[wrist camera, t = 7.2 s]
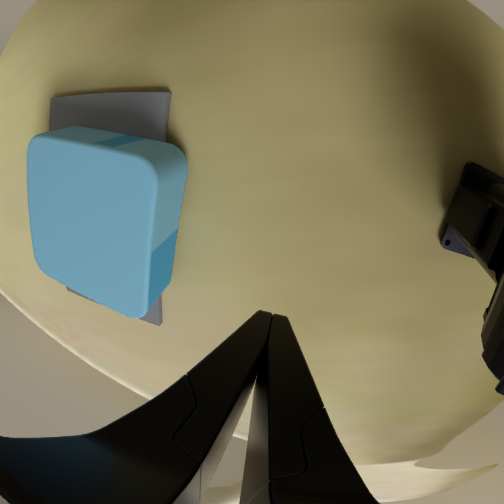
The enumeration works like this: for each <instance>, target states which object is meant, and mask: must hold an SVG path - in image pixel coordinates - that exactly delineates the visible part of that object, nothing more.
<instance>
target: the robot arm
mask: <svg viewBox="0 0 504 504" xmlns="http://www.w3.org/2000/svg"><path fill="white" fill-rule="evenodd" d="M471 167H473V170H472V172H470V168H471ZM446 220H447V223H446V226H445V228H444V231H443V233H442V236H441V238H440V244H441V246H442V247H443V248H445V249H447V250H450V251H453V252H456V253H460V254H463V255H466V256H469V257H472V258H475V259H476V260H477V261H478V262H479V263H480V265H481V266H482V267H483V268H484V269H485V271H486V272H487V273H488V274H489V276H490V277H491V278H492V279H493V280H494V282H495V283H496V284H497V286H496V288H495V291H494V294H493V296H492V299H491V301H490V304H489V306H488V308H486V310H485V312H484V315H483V318H484V324H483V328H482V333H481V338H482V344H483V348H484V351H483V353H482V357H483V359H484V361H485V363H486V365H487V367H488V369H489V370H490V371H491V372H492V374H493V375H494V376H495V377H496V378H497V379H498V380H499V381H500V382H499V383H498V385H497V386H496V388H495V390H496V391H497V392H498V393H500V394H502V395H504V178H502V177H500V176H499V175H497V174H495V173H493V172H491V171H489V170H487V169H486V168H484V167H482V166H480V165H478V164H476V163H473V162H467V163H466V165H465V167H464V171H463V174H462V178H461V181H460V185H459V187H458V188H457V190H456V193H455V196H454V199H453V202H452V205H451V208H450V211H449V214H448V216H447V219H446ZM447 239H449V240H448V242H447V243H445V241H446V240H447ZM256 376H257V377H256ZM255 380H256V382H255ZM254 383H255V387H254V395H253V403H252V411H251V420H250V428H249V435H248V444H247V451H246V459H245V466H244V474H243V481H242V488H241V496H240V503H239V504H380V503H379V502H378V501H377V500H376V499H375V498H374V497H373V496H372V494H371V493H370V492H369V490H368V488H367V487H366V485H365V483H364V482H363V480H362V478H361V477H360V475H359V473H358V471H357V470H356V468H355V466H354V465H353V463H352V461H351V460H350V458H349V456H348V454H347V453H346V451H345V449H344V447H343V445H342V443H341V442H340V440H339V438H338V436H337V434H336V432H335V430H334V427H333V425H332V423H331V421H330V418H329V416H328V413H327V411H326V408H323V407H324V404H323V401H322V399H321V397H320V394H319V392H318V389H317V387H316V384H315V382H314V380H313V377H312V375H311V372H310V370H309V368H308V365H307V363H306V360H305V358H304V355H303V353H302V351H301V348H300V346H299V343H298V341H297V339H296V336H295V334H294V331H293V329H292V327H291V324H290V322H289V320H288V318H287V317H286V316H283V315H279V314H273V316H272V313H270V312H266V311H262V310H258V311H257V312H256V313H255V314H254V315H253V316H251V317H250V318H249V319H248V320H247V321H246V322H245V323H244V324H243V325H241V326H240V327H239V328H238V329H237V330H236V331H235V332H234V333H233V334H231V335H230V336H229V337H228V338H227V339H226V340H225V341H223V342H222V343H221V344H220V345H219V346H218V347H217V348H215V349H214V350H213V351H212V352H211V353H210V354H208V355H207V356H206V357H205V358H204V359H203V360H201V361H200V362H199V363H198V364H197V365H196V366H194V367H193V368H192V369H191V370H190V371H188V372H187V375H184V376H182V377H181V378H180V379H179V380H178V381H176V382H175V383H174V384H173V385H171V386H170V387H169V388H167V389H166V390H165V391H163V392H162V393H161V394H159V395H158V396H156V397H154V398H153V399H151V400H150V401H148V402H147V403H145V404H143V405H142V406H140V407H138V408H137V409H135V410H133V411H131V412H130V413H128V414H126V415H124V416H123V417H121V418H119V419H117V420H116V421H114V422H112V423H110V424H108V425H107V426H105V427H103V428H101V429H98V430H96V431H93V432H90V433H87V434H82V435H76V436H62V437H43V438H10V437H2V436H0V504H199V503H200V501H201V499H202V497H203V495H204V493H205V491H206V489H207V487H208V485H209V483H210V481H211V479H212V477H213V475H214V473H215V471H216V469H217V467H218V465H219V463H220V461H221V458H222V456H223V454H224V452H225V450H226V448H227V445H228V443H229V441H230V439H231V437H232V434H233V432H234V430H235V428H236V426H237V423H238V421H239V419H240V417H241V414H242V412H243V410H244V407H245V405H246V403H247V400H248V398H249V396H250V393H251V391H252V388H253V386H254Z"/></svg>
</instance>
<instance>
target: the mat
mask: <svg viewBox="0 0 504 504" xmlns="http://www.w3.org/2000/svg"><path fill="white" fill-rule="evenodd" d="M170 99H171V93H170V92H113V93H95V94H82V95H72V96H63V97H55V98H51V108H50V131H54V130H59V129H63V128H68V127H73V126H81V127H87V128H94V129H100V130H106V131H111V132H117V133H122V134H127V135H133V136H138V137H142V138H147V139H152V140H157V141H161V142H166V135H167V125H168V116H169V107H170ZM66 287H67V286H66ZM67 290H68V291H70V292H72V293H75V294H77V295H79V296H82V297H84V298H87V299H89V300H91V301H94V300H92V299H90V298H88V297H86V296H84V295H82V294H80V293H78V292H76V291H74V290H73V289H71V288H69V287H67ZM94 302H96V301H94ZM96 303H98V302H96ZM99 304H100V303H99ZM101 305H102V304H101ZM138 319H141V320H144V321H147V322H149V323H152V324H155V325H158V326H160V325H161V324H162V301H161V295H160V296H159V297H158V298H157V300H156V301H155V302H154V304H153V305H152V306H151V308H150V309H149V310H148V312H147V313H146V314H145V315H144V316H143V317H141V318H138Z"/></svg>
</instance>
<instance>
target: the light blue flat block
mask: <svg viewBox="0 0 504 504" xmlns="http://www.w3.org/2000/svg"><path fill="white" fill-rule="evenodd" d="M187 173H188V163H187V160H186V157H185V155H184V153H183V152H182V151H181V150H180V149H179V148H178V147H177V146H175V145H173V144H170V143H166V142H161V141H157V140H152V139H147V138H142V137H138V136H133V135H127V134H122V133H117V132H111V131H106V130H100V129H94V128H87V127H81V126H73V127H68V128H63V129H59V130H54V131H50V132H45V133H41V134H38V135H36V136H34V137H33V138H32V140H31V141H30V143H29V146H28V150H27V191H28V208H29V219H30V229H31V237H32V244H33V251H34V257H35V260H36V262H37V264H38V266H39V268H40V269H41V270H42V271H43V272H44V273H45V274H46V275H47V276H49V277H51V278H53V279H54V280H56V281H58V282H60V283H62V284H63V285H65V286H67V287H69V288H71V289H73V290H74V291H76V292H78V293H80V294H82V295H84V296H86V297H88V298H90V299H92V300H94V301H96V302H98V303H100V304H102V305H104V306H106V307H108V308H110V309H112V310H114V311H116V312H118V313H121V314H123V315H125V316H127V317H130V318H141V317H143V316H144V315H145V314H146V313H147V312H148V310H149V309H150V308H151V306H152V305H153V304H154V302H155V301H156V300H157V298H158V297H159V296H160V295H161V293H162V292H163V291H164V289H165V288H166V287H167V285H168V284H169V283H170V280H171V274H172V267H173V259H174V252H175V244H176V238H177V231H178V225H179V218H180V212H181V206H182V200H183V195H184V189H185V184H186V178H187Z"/></svg>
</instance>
